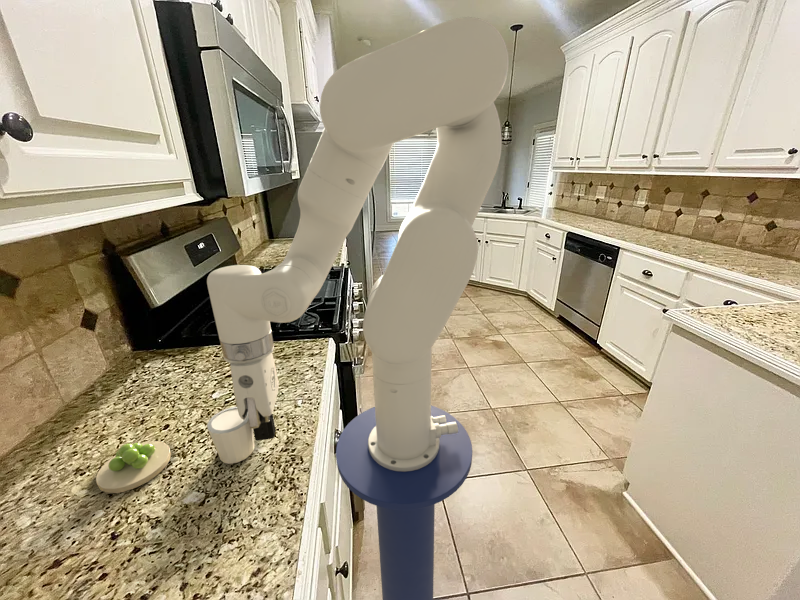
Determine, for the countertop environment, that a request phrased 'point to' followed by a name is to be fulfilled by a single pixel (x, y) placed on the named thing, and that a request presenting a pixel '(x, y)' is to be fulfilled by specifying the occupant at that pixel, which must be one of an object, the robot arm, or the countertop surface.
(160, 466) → the grape dish
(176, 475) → the countertop surface
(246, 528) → the countertop surface
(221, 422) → the white ramekin
